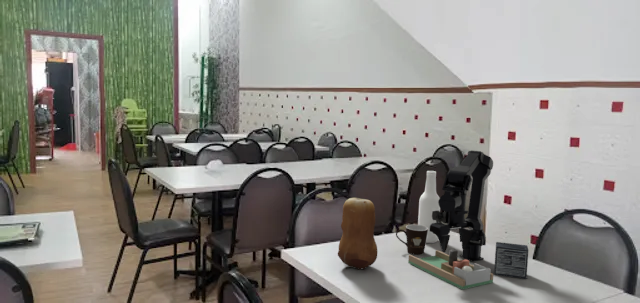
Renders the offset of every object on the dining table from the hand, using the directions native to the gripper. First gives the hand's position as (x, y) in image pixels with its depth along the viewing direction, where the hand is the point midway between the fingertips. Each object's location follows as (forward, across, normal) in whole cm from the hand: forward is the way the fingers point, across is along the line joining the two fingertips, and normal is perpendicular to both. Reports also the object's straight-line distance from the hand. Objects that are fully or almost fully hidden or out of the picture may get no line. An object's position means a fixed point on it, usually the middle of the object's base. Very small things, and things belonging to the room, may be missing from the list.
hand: (453, 250), depth 168 cm
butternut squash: (+9, +27, -20) cm, 34 cm away
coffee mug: (+9, -3, -26) cm, 27 cm away
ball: (+6, 0, +6) cm, 8 cm away
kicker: (+7, 0, +1) cm, 7 cm away
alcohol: (+9, -19, -35) cm, 40 cm away
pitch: (+8, 0, -2) cm, 9 cm away
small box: (+9, -19, +8) cm, 23 cm away
